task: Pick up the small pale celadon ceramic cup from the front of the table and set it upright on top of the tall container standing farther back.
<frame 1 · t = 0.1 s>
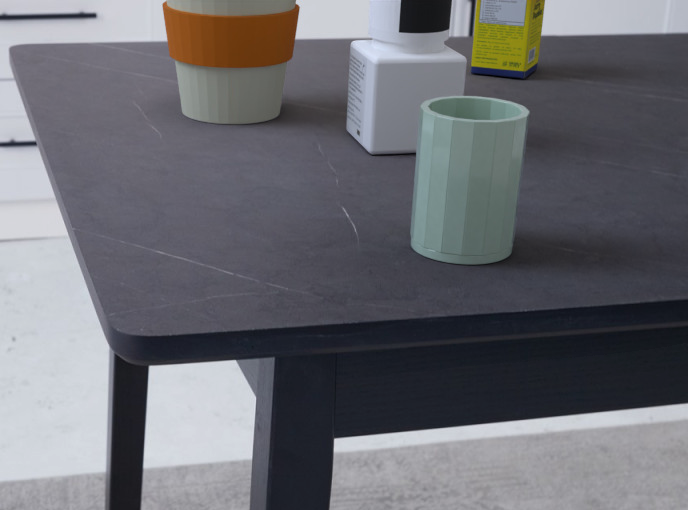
supplement box: (503, 73, 124), on the table
reusable coffee cup: (231, 113, 105), on the table
container: (400, 144, 98), on the table
cup: (460, 246, 75), on the table
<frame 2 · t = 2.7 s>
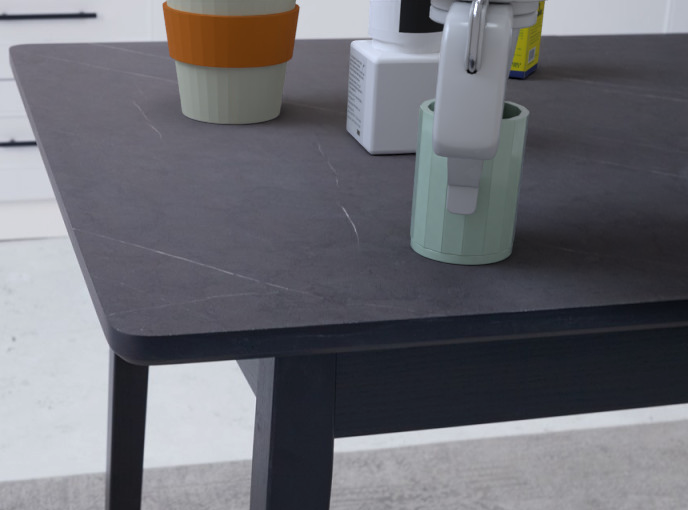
hand: (465, 191, 73), 4 cm above the table, tool pointing down, fingers closed on cup, 7 cm apart
cup: (460, 246, 75), on the table, touching gripper
everything else where it was.
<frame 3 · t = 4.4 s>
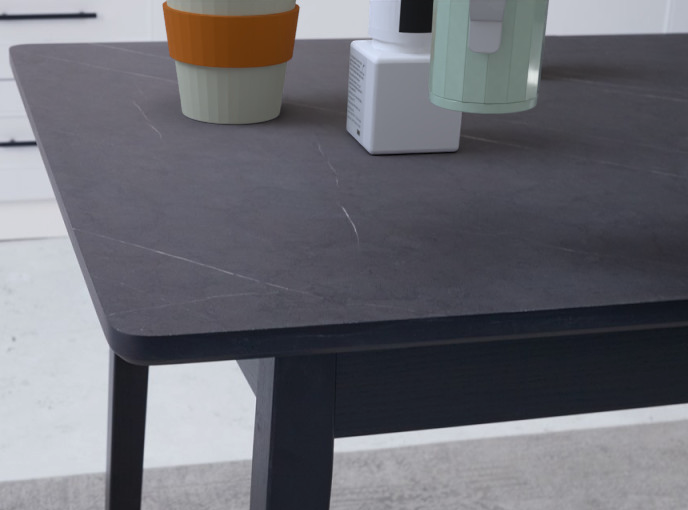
hand: (487, 37, 69), 13 cm above the table, tool pointing down, fingers closed on cup, 7 cm apart
cup: (482, 100, 71), point 9 cm above the table, touching gripper
everything else where it was.
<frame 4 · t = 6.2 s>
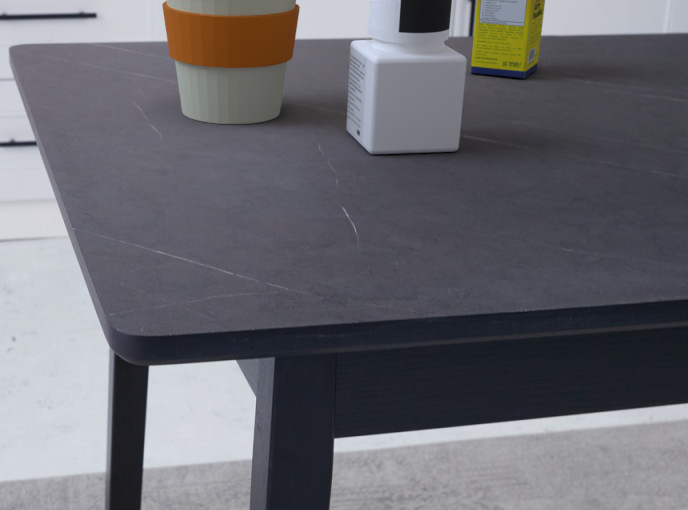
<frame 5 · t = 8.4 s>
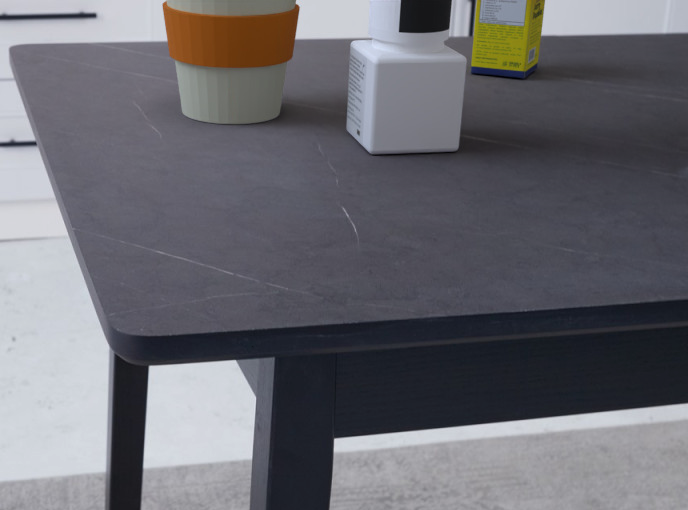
when the fingers open (17 cm above the table, at t = 9.8 s): cup stays where it is, resting on container.
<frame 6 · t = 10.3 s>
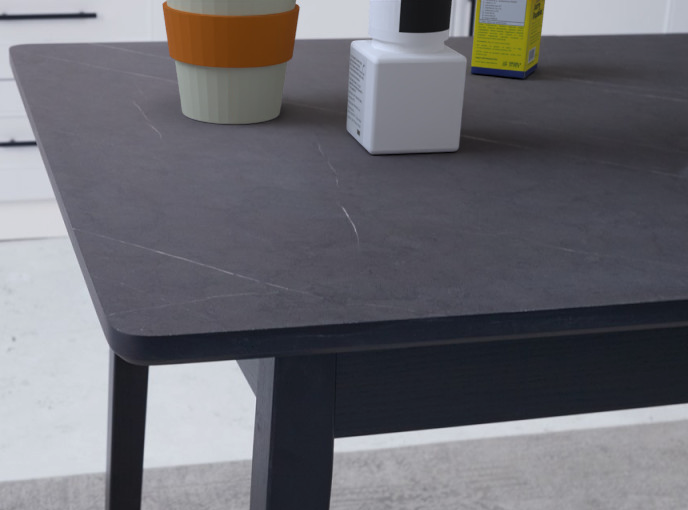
container: (400, 144, 98), on the table, touching cup
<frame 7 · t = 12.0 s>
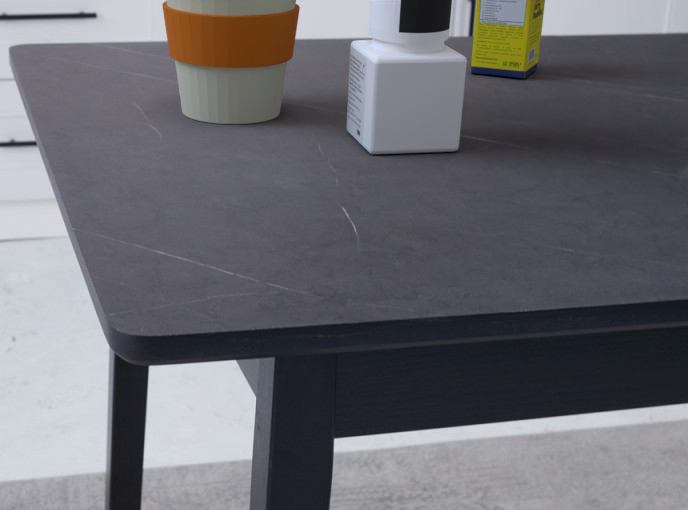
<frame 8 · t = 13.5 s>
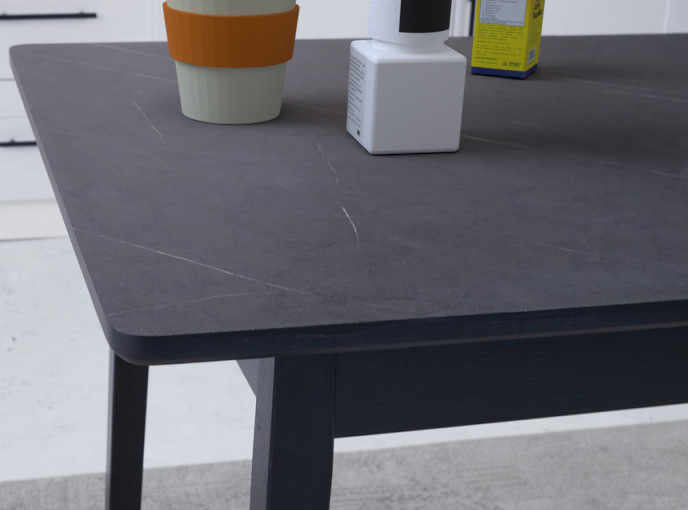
at the end: cup 0.1 cm off-centre on the container, point 13.2 cm above the container's base; cup tilted 0°; the gripper is holding nothing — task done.
